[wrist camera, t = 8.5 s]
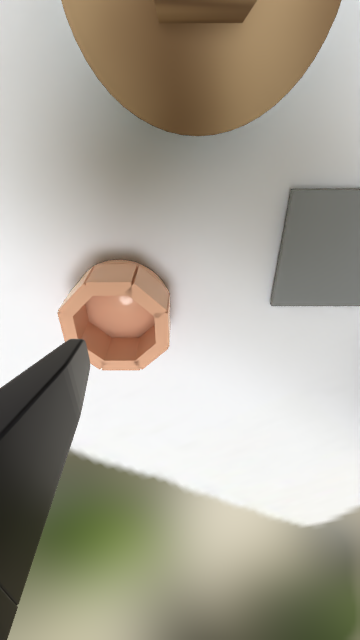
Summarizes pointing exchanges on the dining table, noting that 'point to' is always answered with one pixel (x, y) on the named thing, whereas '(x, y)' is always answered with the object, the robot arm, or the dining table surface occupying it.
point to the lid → (199, 55)
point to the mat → (320, 250)
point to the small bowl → (118, 315)
